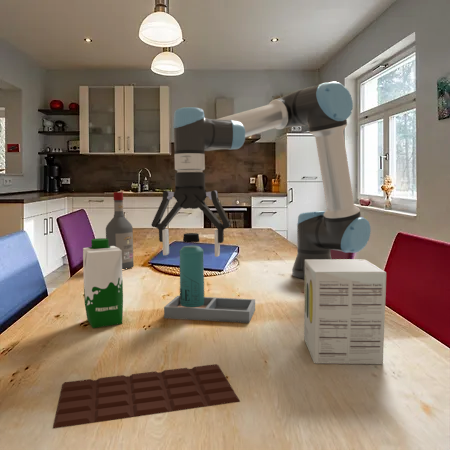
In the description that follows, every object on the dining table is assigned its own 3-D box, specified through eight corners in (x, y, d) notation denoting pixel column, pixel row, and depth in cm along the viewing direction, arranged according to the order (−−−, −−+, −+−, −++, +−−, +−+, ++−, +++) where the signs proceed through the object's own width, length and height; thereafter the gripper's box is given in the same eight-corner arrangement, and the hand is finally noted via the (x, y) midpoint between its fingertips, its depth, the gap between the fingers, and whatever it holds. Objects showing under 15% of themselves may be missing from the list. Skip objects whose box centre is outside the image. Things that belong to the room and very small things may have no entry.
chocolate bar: (52, 431, 60) (52, 424, 59) (62, 386, 73) (62, 381, 72) (240, 404, 67) (239, 397, 67) (218, 367, 80) (218, 362, 80)
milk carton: (118, 314, 111) (115, 237, 109) (127, 324, 103) (125, 241, 101) (82, 319, 107) (79, 239, 105) (89, 330, 99) (86, 244, 97)
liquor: (137, 267, 173) (135, 192, 170) (120, 271, 165) (117, 192, 162) (120, 265, 178) (118, 191, 175) (103, 268, 170) (101, 192, 167)
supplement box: (302, 338, 93) (303, 258, 92) (364, 339, 93) (366, 258, 91) (313, 364, 80) (314, 271, 78) (384, 365, 80) (388, 271, 78)
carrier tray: (255, 309, 114) (255, 299, 114) (249, 323, 103) (249, 311, 103) (177, 305, 119) (177, 295, 118) (164, 318, 108) (163, 307, 107)
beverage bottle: (208, 307, 114) (208, 232, 112) (198, 314, 108) (198, 235, 106) (185, 305, 116) (185, 231, 114) (175, 312, 110) (174, 234, 108)
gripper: (137, 171, 107) (139, 256, 109) (236, 170, 102) (237, 258, 104) (148, 172, 115) (150, 251, 117) (241, 171, 110) (241, 253, 112)
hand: (191, 255), depth 111 cm, fingers open, 13 cm apart
